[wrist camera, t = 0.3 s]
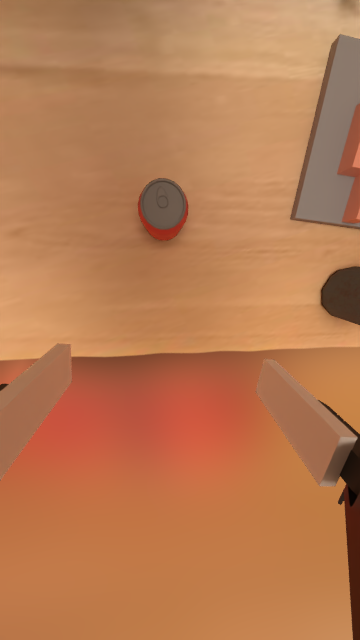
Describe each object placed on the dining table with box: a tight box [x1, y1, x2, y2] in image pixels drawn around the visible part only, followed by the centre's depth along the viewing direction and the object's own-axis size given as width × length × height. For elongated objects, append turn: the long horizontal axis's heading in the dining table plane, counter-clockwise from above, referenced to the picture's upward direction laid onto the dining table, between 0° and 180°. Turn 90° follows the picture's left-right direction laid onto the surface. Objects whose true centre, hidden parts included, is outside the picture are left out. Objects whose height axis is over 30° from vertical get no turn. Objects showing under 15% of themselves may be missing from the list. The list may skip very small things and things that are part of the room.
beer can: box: [138, 178, 188, 240], centre depth 31 cm, size 7×7×12 cm
